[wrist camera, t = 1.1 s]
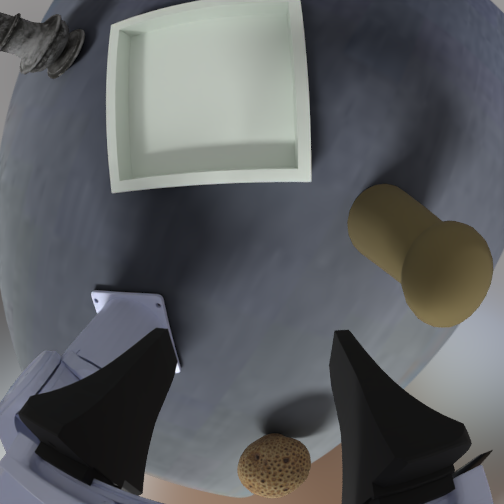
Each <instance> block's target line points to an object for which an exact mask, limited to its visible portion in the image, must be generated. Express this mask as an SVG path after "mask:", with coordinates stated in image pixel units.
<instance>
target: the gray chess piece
mask: <svg viewBox="0 0 504 504" xmlns="http://www.w3.org/2000/svg"><path fill="white" fill-rule="evenodd" d="M61 19H62V18H61V15H59V14H56V15H53V16H51V17H50V18H48V19H47V20H46V21H45V22H44V23H34V22H30V21H28V20H25V19H22V18H20V13H18V14H17V15H15V16H10V15H7V14H4V13H0V51H3V52H7V53H11V54H15V55H16V56H18V57H19V58H21V63H20V72H21V73H22V74H27V73H28V72H31V73H34V72H40V71H43V70H44V69H46V68H48V76H49V77H50V78H52V79H55V78H57V77H59V76H61V75H62V74H63V73H64V72H65V71H66V70H67V69H68V68H69V67H70V65H71V64H72V63H73V62H74V60H75V59H76V57H77V55H78V54H79V52H80V50H81V48H82V45H83V43H84V39H85V32H84V30H82V29H76V30H74V31H72V32H71V33H69V28H68V26H67V24H66V23H65V21H63V20H61Z"/></svg>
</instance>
